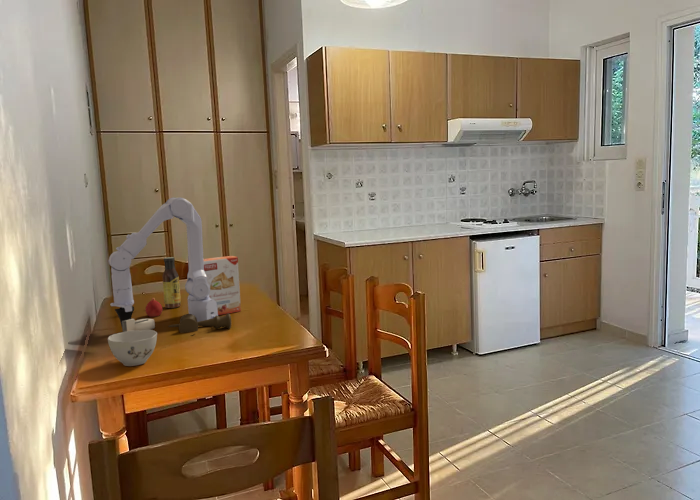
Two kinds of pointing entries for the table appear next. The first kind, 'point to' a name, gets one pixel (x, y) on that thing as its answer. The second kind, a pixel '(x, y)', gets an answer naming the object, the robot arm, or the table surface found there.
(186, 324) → the kendama
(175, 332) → the table surface
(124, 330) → the miniature toilet
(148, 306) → the onion
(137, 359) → the white floral bowl
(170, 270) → the sauce bottle
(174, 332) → the table surface
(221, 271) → the cracker box
